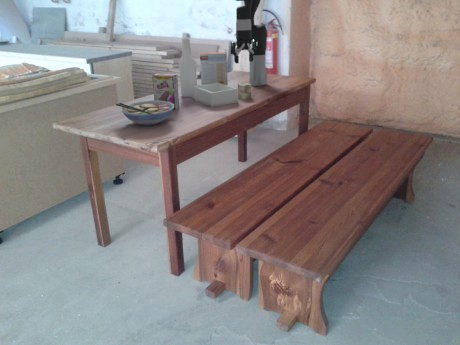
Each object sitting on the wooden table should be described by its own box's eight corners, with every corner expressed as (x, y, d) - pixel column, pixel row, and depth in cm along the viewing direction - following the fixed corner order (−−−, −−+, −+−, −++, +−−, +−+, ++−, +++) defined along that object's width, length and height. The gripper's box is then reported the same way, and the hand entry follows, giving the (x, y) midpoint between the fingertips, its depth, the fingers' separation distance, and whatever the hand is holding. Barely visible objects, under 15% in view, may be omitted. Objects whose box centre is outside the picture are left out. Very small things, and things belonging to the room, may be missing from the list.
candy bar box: (154, 109, 220) (151, 75, 213) (159, 106, 224) (156, 73, 218) (175, 110, 216) (173, 76, 210) (179, 108, 221) (177, 74, 214)
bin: (218, 95, 242) (217, 82, 240) (237, 102, 228) (237, 88, 225) (193, 99, 235) (192, 86, 232) (212, 107, 220) (211, 92, 218)
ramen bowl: (188, 122, 197) (186, 104, 194) (144, 135, 182) (142, 115, 179) (154, 112, 214) (152, 95, 210) (111, 123, 199) (108, 105, 196)
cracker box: (228, 90, 254) (227, 51, 245) (226, 92, 248) (225, 53, 240) (203, 90, 255) (201, 52, 247) (201, 92, 250) (199, 53, 241)
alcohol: (182, 93, 248) (178, 37, 237) (198, 93, 247) (195, 36, 236) (179, 97, 240) (175, 39, 228) (196, 97, 239) (192, 38, 228)
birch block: (245, 96, 240) (245, 82, 237) (251, 97, 236) (251, 84, 233) (238, 97, 238) (237, 84, 235) (243, 99, 234) (243, 85, 231)
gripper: (251, 27, 230) (251, 60, 236) (227, 29, 223) (228, 62, 229) (259, 28, 224) (259, 61, 230) (235, 30, 217) (236, 64, 223)
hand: (243, 62), depth 230 cm, fingers open, 8 cm apart
